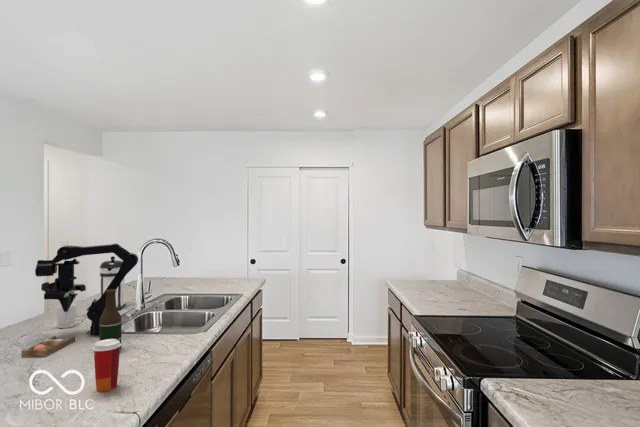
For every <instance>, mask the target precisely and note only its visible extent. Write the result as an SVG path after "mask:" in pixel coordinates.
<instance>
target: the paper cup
mask: <svg viewBox="0 0 640 427" xmlns="http://www.w3.org/2000/svg"><path fill="white" fill-rule="evenodd" d="M120 346H121V347H122V342H121V343H120V341H119V340H117V339H106V340H102V341H96V342H95V343H94V345H93V347H92V349H91V350H92V351H93V357H94V359H93V360H94V362H93V363H94V373H95V374H94V377H95V390H96V391H97V392H98V393H99V392H100V393H105V392H109V391H110V392H111V391H112V390H114V389H116V388H117V386H118V378H119V366H120Z"/></svg>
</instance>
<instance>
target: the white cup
mask: <svg viewBox="0 0 640 427" xmlns="http://www.w3.org/2000/svg"><path fill="white" fill-rule="evenodd" d="M76 314H77V304H76V303H72V304H71V306H70V308H69V310H68V311H67V312H64V310H63V308H62V306H61V304H60V305H57V306H56V322H57V328H58V329H60V328H64V329H69V327H70V328H73V327H75V326H76V317H77V315H76Z"/></svg>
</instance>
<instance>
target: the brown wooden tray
mask: <svg viewBox="0 0 640 427" xmlns="http://www.w3.org/2000/svg"><path fill="white" fill-rule="evenodd" d="M49 339H57V337H56V336H53V337H50V338H49ZM75 342H76V336H72V337H70V338H68V339H66V340H63V342H62V343H60V344H58V345H56V346H54V347H52V348H50V349H34V347H35V346H37V345H40V344H42V342H39V343H37V344H35V345H34V346H33V345H32V346H30V347H29V348H27V349H22V350H21V351H20V352H21V354H20V356H21V358H47V357H49V356H50V355H53V354H54V353H56V352H58V351H59V350H62V349H63V348H65V347H68V346H70V345H71V344H73V343H75Z"/></svg>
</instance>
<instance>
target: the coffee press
mask: <svg viewBox="0 0 640 427" xmlns="http://www.w3.org/2000/svg"><path fill="white" fill-rule="evenodd" d="M115 259H116V257H115V256H114V255H113V256H110V260H106V261H103V262H101V263H100V265H99V269H100V272H99V278H100V280H99V285H100V286H99V287H100V288H99V294H100V296H99V298H100V297H101V296H102V295H103V293H104V292H105V290H106V289H107V287H108V286H109V284H110V283H111V282H112V280H113V279H114V277H115V276H116V274H117V273H118V271H119V269H120V267H121V264H122V262H123V260H120V259H119V260H115ZM125 277H126V276H125ZM125 277H124V279H123V280H122V282H121V283H120V285H119V286H118V288H117V289H116V293H115V296H116V308H117V311H118V312H119V311H122V310H123V307H126V304H125Z"/></svg>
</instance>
